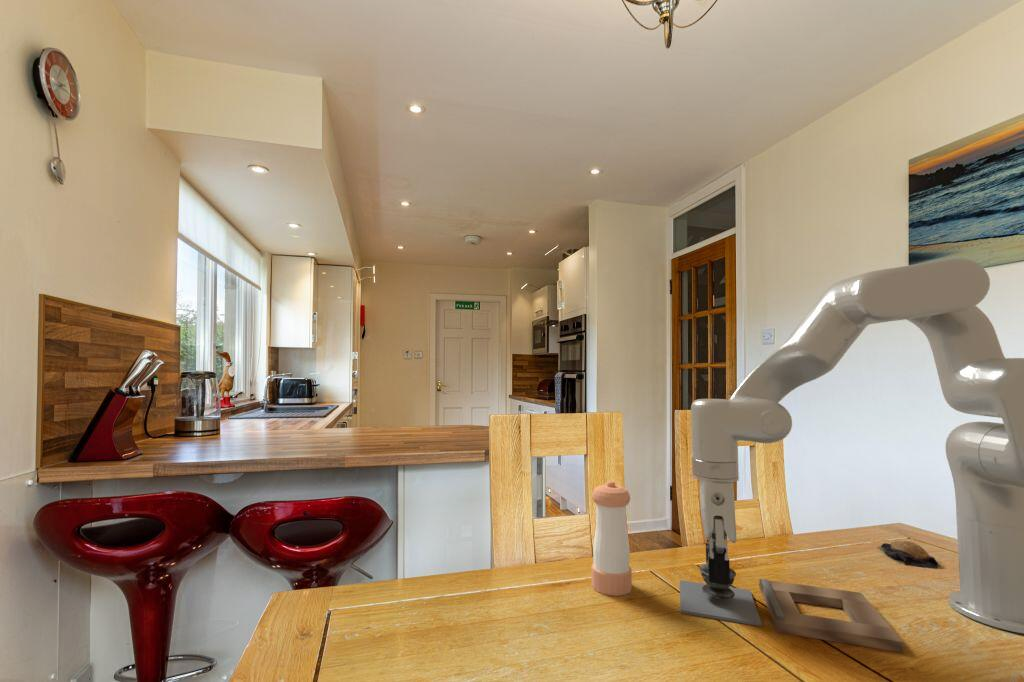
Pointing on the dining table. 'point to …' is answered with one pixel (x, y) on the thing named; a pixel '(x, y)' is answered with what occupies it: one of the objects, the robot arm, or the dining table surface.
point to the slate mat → (718, 604)
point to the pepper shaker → (611, 541)
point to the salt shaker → (714, 588)
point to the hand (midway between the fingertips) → (717, 573)
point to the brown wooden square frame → (860, 631)
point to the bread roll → (908, 554)
